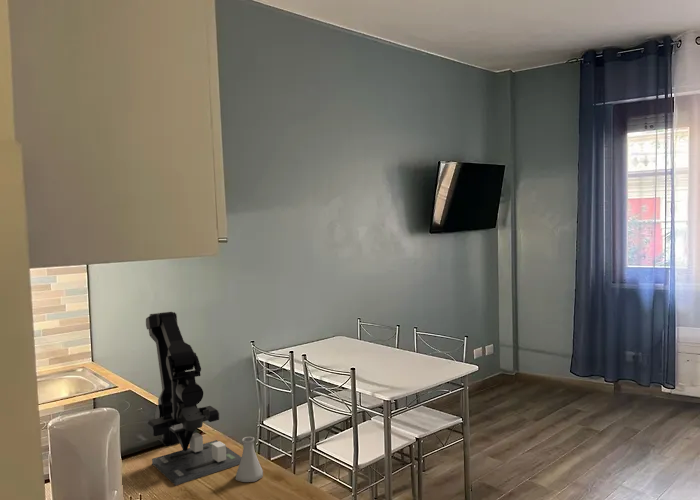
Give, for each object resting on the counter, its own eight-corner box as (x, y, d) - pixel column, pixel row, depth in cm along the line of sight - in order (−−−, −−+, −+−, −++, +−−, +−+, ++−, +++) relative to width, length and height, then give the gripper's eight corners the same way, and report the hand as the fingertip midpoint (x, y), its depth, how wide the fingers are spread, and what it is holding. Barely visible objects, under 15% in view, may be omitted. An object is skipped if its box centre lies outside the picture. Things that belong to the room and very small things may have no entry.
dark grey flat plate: (152, 464, 156) (152, 458, 156) (216, 445, 168) (216, 439, 168) (175, 485, 143) (175, 479, 143) (243, 463, 155) (242, 457, 155)
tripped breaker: (189, 448, 161) (189, 434, 161) (197, 446, 163) (197, 432, 162) (195, 452, 158) (194, 438, 158) (203, 449, 160) (202, 436, 160)
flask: (257, 484, 143) (256, 445, 143) (230, 482, 145) (229, 443, 144) (267, 471, 150) (266, 434, 150) (241, 469, 152) (240, 432, 151)
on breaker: (212, 457, 155) (211, 443, 154) (220, 455, 156) (219, 441, 156) (218, 462, 152) (217, 447, 152) (226, 459, 153) (225, 445, 153)
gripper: (160, 411, 145) (162, 470, 146) (227, 395, 157) (229, 450, 158) (145, 399, 154) (147, 456, 155) (209, 385, 166) (211, 438, 167)
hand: (185, 450), depth 159 cm, fingers closed
